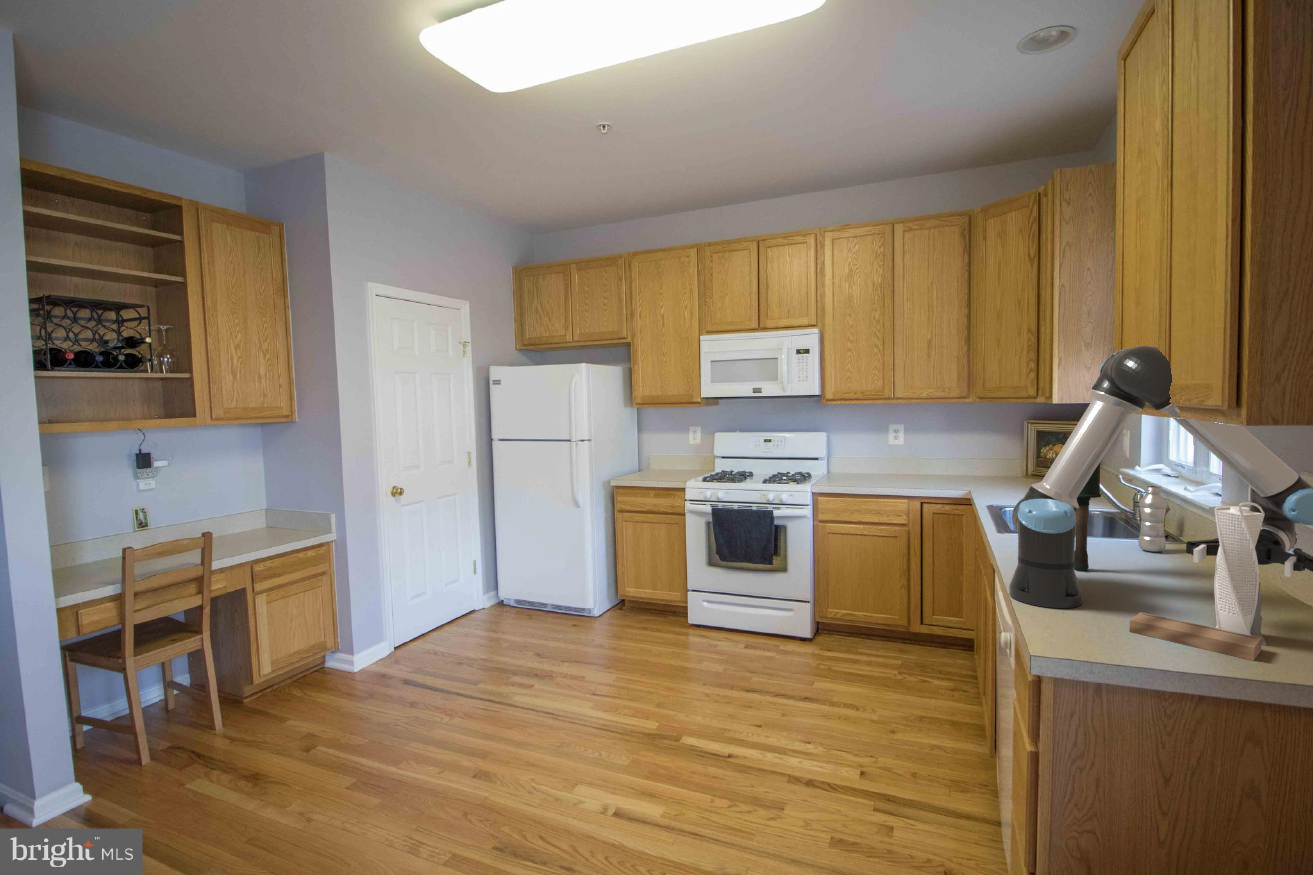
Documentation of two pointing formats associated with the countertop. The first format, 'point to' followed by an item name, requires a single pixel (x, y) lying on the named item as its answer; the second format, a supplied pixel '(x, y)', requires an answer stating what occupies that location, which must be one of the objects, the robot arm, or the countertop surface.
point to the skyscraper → (1238, 571)
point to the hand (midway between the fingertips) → (1239, 562)
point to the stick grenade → (1085, 519)
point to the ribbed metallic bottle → (1152, 520)
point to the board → (1197, 635)
